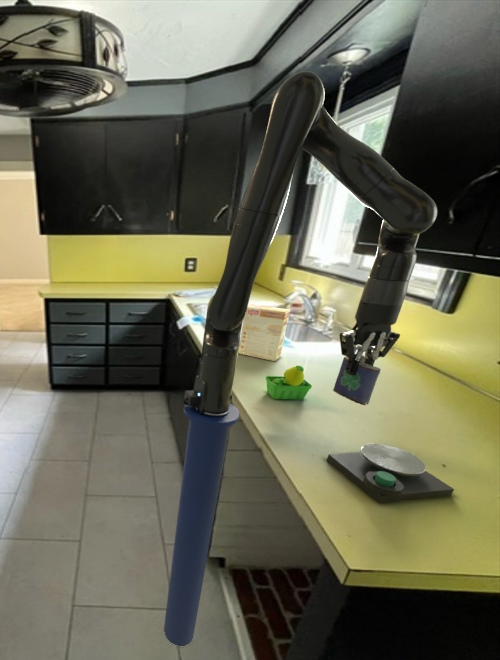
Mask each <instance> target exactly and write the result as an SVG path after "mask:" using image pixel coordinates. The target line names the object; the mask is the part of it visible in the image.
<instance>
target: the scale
mask: <svg viewBox="0 0 500 660" xmlns="http://www.w3.org/2000/svg"><path fill="white" fill-rule="evenodd" d="M326 461H327V462H329V464H331V465H332V466H333V467H334V468H336V469H337V470H338V471H339V472H340V473H342V474H343V475H344V476H346V477H347V478H348V479H349V480H350V481H352V482H353V483H354V484H355V485H357V487H358V488H360V489H362V490H363V491H364V493H366V494H367V495H369V496H370V497H371V498H372V499H373V500H374V501H376V503H378V504H381V503H392V502H400V501H401V502H402V501H411V500H421V499H431V498H432V499H433V498H440V497H441V498H442V497H450V496H451V497H452V495H453V493H454V491H455V488H454V487H452V486H450V485H448V484H447V483H445V482H444V481H442V480H441V479H440V478H437V477H436V476H435V475H433V474H431V473H430V472H429V471H427V470H425V472H424V473H423V474H422V475H419V476H404V475H399V474H395V473H391V472H388V471H385V470H383V469H380V468H378V467H376V466H374V465H373V464H371V463H370V462H368V461H367V460H366V459H365V458H364V457H363V456H362V455H361V451H352V452H351V451H350V452H339V453H338V452H337V453H328V455H327V458H326ZM379 471H383V472H387V473H390V474H392V475H393V476H394V477H395V478H396V480H395V483H394V485H393V487H387V486H383V485H381V484H379V483H377V482H376V481H375V480H374V479H375V476H376V474H377V472H379Z"/></svg>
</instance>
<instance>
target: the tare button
mask: <svg viewBox="0 0 500 660" xmlns="http://www.w3.org/2000/svg"><path fill="white" fill-rule="evenodd" d="M374 480H375V481H376V482H377V483H379V484H381V485H383V486H387V487H393V485H394V483H395V480H396V478H395V477H394V476H393V475H392V474H390V473H387V472H383V471H379V472H377V474H376V476H375V479H374Z"/></svg>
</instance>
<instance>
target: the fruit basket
mask: <svg viewBox="0 0 500 660" xmlns="http://www.w3.org/2000/svg"><path fill="white" fill-rule="evenodd" d="M304 371H305V370H304V367H303V366H301V365H294V366H292V367H290V368H288V369H286V370H285V371H284V373H283V376H278V375H277V376H276V375H275V376H274V375H273V376H272V375H266V376H265V381H266V382H265V383H266V392H267V393H268V394H269V396H271V398H272V399H273V400H298V401H302V400H304V398H305V397H306V395H308V392H309V391H310V390H311V388H312V387H313V385H312V384H310V382H308V381H307V380H306V379H305V373H304Z"/></svg>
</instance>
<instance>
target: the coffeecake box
mask: <svg viewBox="0 0 500 660" xmlns="http://www.w3.org/2000/svg"><path fill="white" fill-rule="evenodd" d="M290 313H291V309H289V308H281V307H280V308H279V307H273V306H264V305H256V304H250V305H248V307H247V312H246V316H245V318H244V320H243V322H242V328H241V335H240V346H239V352H238V355H243V356H244V355H245V356H249V357H253V358H259V359H263V360H268V361H272V362H276V361H278V360H279V359H280V358H281V355H282V351H283V346H284V341H285V336H286V331H287V327H288V323H289V318H290ZM243 352H244V353H243Z"/></svg>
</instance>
